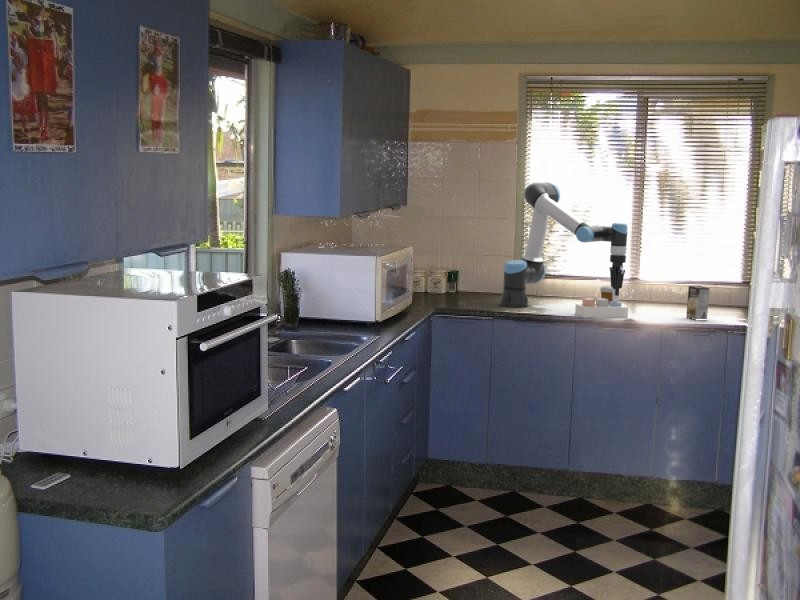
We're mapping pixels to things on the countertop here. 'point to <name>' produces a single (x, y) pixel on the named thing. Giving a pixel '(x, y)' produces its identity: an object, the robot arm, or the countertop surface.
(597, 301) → the key grey
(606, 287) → the disposable coffee cup
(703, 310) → the coffee box
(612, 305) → the key blue
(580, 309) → the keypad base
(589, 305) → the key terracotta
